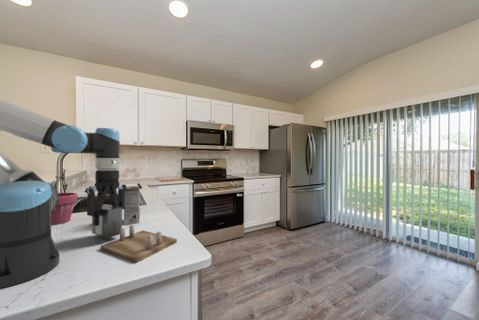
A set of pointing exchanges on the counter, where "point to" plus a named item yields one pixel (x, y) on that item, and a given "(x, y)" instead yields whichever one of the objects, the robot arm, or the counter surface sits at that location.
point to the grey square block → (110, 221)
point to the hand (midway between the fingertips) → (106, 231)
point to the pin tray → (138, 244)
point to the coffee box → (132, 205)
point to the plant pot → (63, 208)
